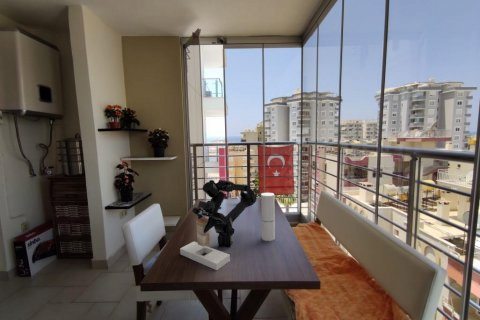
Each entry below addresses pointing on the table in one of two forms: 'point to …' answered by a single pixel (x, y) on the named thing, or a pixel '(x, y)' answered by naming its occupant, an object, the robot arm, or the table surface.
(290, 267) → the table surface
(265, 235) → the cylindrical container
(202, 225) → the wooden peg
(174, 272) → the table surface
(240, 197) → the water lily
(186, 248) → the white slotted block
